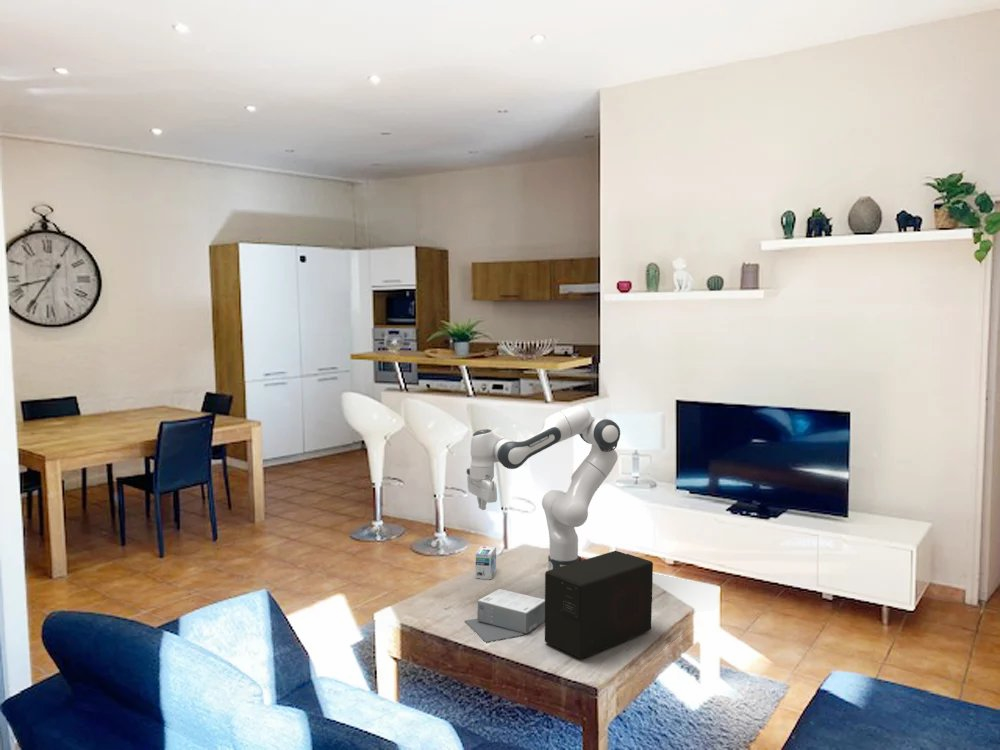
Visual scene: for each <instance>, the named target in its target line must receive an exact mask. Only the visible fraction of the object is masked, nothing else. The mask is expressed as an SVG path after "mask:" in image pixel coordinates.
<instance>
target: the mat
mask: <svg viewBox="0 0 1000 750" xmlns="http://www.w3.org/2000/svg"><path fill="white" fill-rule="evenodd" d="M465 622H466V623H467V624H468V625H469V626H470V627H471V628H472V629H473V630H474V631H475V632H476V633H477V634H478V635H479V636H480V637H481V638H482V639H483V640H484V641H485V642H488V643H492V642H491V641H493V642H497V641H496V640H499V641H502V640H501V639H504V640H507V639H506V638H509V639H513V637H514V638H518V637H519V636H520V637H524V635H525V633H521V632H518V631H514V630H510V629H507V628H503V627H499V626H495V625H492V624H488V623H484V622H480V621H477V618H472V619H466V620H464V623H465ZM466 623H465V624H466ZM467 624H466V625H467ZM468 625H467V626H468ZM469 626H468V627H469ZM470 627H469V628H470ZM471 628H470V629H471ZM472 629H471V630H472ZM473 630H472V631H473ZM474 631H473V632H474ZM475 632H474V633H475ZM476 633H475V634H476ZM477 634H476V635H477ZM478 635H477V636H478ZM480 637H479V638H480ZM520 637H519V638H520ZM481 638H480V639H481ZM482 639H481V640H482ZM483 640H482V641H483ZM484 641H483V642H484ZM485 642H484V643H485Z"/></svg>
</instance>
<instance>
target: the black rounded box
mask: <svg viewBox="0 0 1000 750" xmlns="http://www.w3.org/2000/svg"><path fill="white" fill-rule="evenodd" d="M585 559H586V560H582V561H579V562H576V563H572V564H569V565H566V566H562V567H559V568H555V569H552V570H546V571H545V573H544V574H545V575H544V599H545V621H544V642H546V643H547V644H549V645H552V646H554V647H555V648H557V649H560V650H562V651H564V652H565V653H568V654H570V655H572V656H575V657H576V658H578V659H581V660H582V659H584V657H585V658H586V657H589V656H592V655H594V654H596V653H599V652H601V651H603V650H606V649H608V648H610V647H614V646H616V645H618V644H620V643H623V642H625V641H627V640H631V639H632V638H635V637H637V636H640V635H642V633H643V634H644V633H647V632H649V631H651V630H652V611H653V610H652V609H653V607H652V605H653V581H654V580H653V576H654V575H653V574H654V573H653V572H654V571H653V569H654V562H653V561H652V560H649V559H645V558H643V557H639V556H636V555H633V554H630V553H624V552H621V551H618V550H612V551H610V552H607V553H603V554H600V555H596V556H593V557H590V558H589V557H588V558H585Z"/></svg>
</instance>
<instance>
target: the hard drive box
mask: <svg viewBox="0 0 1000 750" xmlns="http://www.w3.org/2000/svg"><path fill="white" fill-rule="evenodd" d="M476 619H477V621H480V622H484V623H488V624H492V625H495V626H499V627H503V628H507V629H510V630H514V631H518V632H521V633H523V634H524V635H526V634H528V633H530V632H531V631H533V630H534V629H535V628H537V627H538V626H539V625H541V624H542V623H545V598H540V597H535V596H531V595H527V594H524V593H519V592H515V591H510V590H505V589H502V588H498V589H497V590H495V591H493V592H491V593H489V594H487V595H486V596H483V597H481V598H480V599H478V600H477V617H476Z"/></svg>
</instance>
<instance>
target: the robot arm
mask: <svg viewBox="0 0 1000 750" xmlns="http://www.w3.org/2000/svg"><path fill="white" fill-rule="evenodd" d="M576 435H579V437H580V438H581V439H582V441H584V442H585V443H586V444H589V445H591V447H590V451H589V453H588V455H587V456H586V457H585V458H584V459H583V460H582V462H581V463H580V464H579V466H578V467H577V468H576V469H575V471H574V472H573V473H572V475H571V482H570V485H569V487H568V489H567V491H566V492H565V491H562V490H556V489H555V490H549V491H547V492H545V494H544V495H543V497H542V500H541V506H542V509H543V510H544V514H545V519H546V524H547V529H548V537H549V555H548V560H547V562H548V563H547V564H548V566H547V567H548V569H547V571H549V570H552V569H555V568H559V567H562V566H566V565H569V564H572V563H576V562H579V561H582V560H586V559H587V558H585V557H581V556H580V555H579V536H578V534H577V531H576V528H579V527H581V526H583V525H584V524H585V523H586V521H587V520H588V517H589V511H588V510H589V507H590V503H591V501H592V499H593V497H594V495H595V494H596V491H598V489H599V488H600V487H601V485H602V484H603V483H604V482H605V480H606V479H607V477H608V476H609V475H610V474H611V472H612V470H613V469H614V467H615V464H616V463H617V461H618V457H619V456H618V452H617V451H616V450H615V449H617V447H618V443H619V440H620V437H621V430H620V426H619V425H618V424H617V423H616V422H615V421H614V420H612V419H609V418H607V419H606V418H605V417H604V418H603V417H593V416H592V414H591V412H590V410H589V409H588V408H587V407H586V406H585V405H584V406H583V405H575V406H570V407H566V408H564V409H562V410H558V411H556V412H554V413H552V414H551V415H549V416H548V417H546V418H545V419H544V420H543V423H542V430H540V432H538V433H536V434H534V435H533V436H530V437H528V438H526V439H524V440H522V441H517V440H516V441H515V440H513V439H511V438H509V437H506V436H503V435H501V434H498V433H496V432H494V431H493V430H492V429H488V428H487V429H479V430H477V431H475V432H474V433H473V434H472V436H471V440H470V456H471V461H470V467H467V468H466V472H465V473H466V474H467V479H466V480H467V489H468V492H469V493H471V494H472V495H474V496H476V499H477V504H478V509H480V510H482V511H485V510H486V509H487V503H488V504H489V503H490V504H491V503H496V502H497V501H498V493H497V492H498V491H497V484H496V482H495V481H494V478H495V463H500V464H501V466H503V467H504V468H506V469H509V470H516V469H518V468H520V467H521V466H523V464H524V463H526V462H527V461H528V459H530V458H531V457H533V456H534V455H537V454H538V453H541V452H542V451H544V450H546V449H548V448H550V447H552V446H553V445H555V444H557V443H558V444H559V443H560V442H563V441H565V440H568V439H570V438H573V437H574V436H576Z"/></svg>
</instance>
